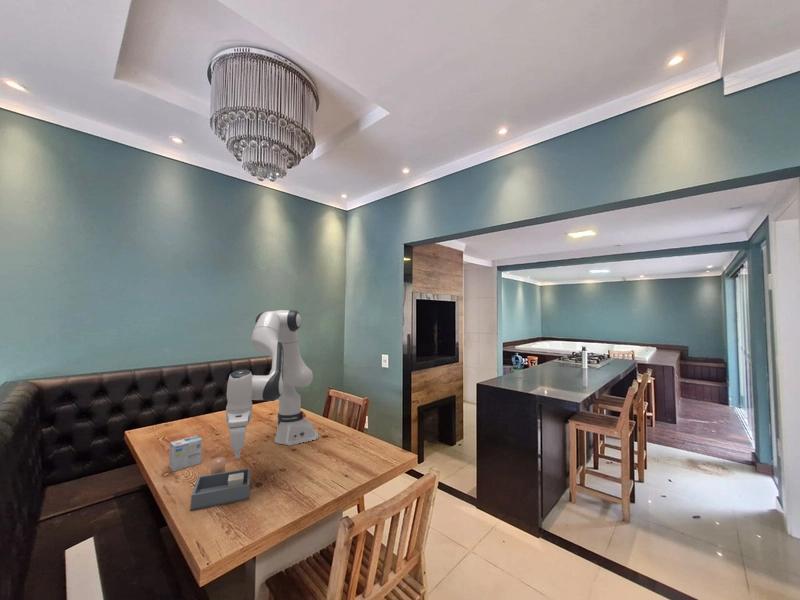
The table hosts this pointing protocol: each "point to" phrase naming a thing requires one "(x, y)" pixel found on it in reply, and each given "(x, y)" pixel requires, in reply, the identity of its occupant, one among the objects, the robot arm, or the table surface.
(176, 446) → the light bulb box
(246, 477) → the box
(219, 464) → the tan rounded cylinder
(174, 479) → the table surface
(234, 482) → the cream cube
